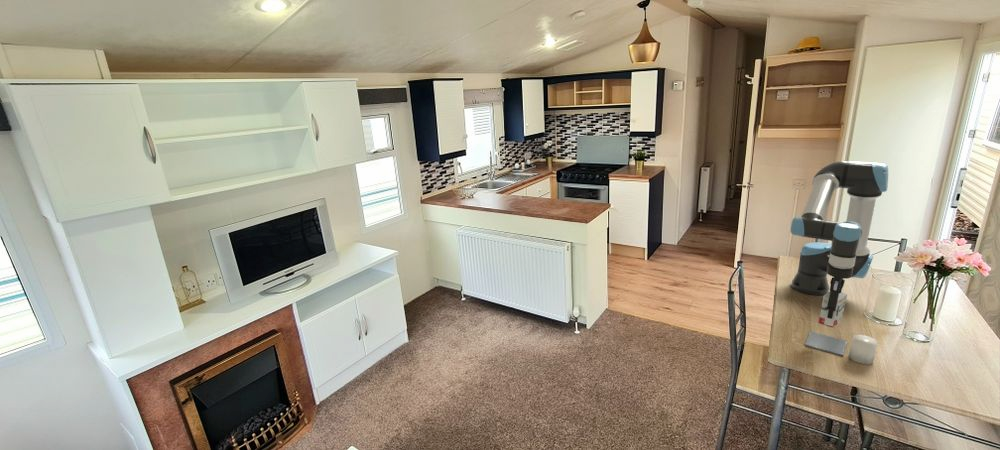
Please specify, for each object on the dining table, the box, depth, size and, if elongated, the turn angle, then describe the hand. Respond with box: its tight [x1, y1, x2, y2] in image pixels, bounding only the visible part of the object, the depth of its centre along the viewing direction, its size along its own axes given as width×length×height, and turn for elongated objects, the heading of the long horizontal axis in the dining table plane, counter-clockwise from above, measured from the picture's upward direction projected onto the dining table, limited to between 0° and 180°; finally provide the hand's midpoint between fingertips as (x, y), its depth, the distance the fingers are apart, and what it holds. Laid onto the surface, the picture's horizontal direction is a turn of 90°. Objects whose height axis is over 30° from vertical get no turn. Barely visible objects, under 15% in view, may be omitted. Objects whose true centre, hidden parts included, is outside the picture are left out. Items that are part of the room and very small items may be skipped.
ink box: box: [818, 291, 848, 328], centre depth 167 cm, size 8×5×12 cm, turn 124°
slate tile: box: [804, 331, 848, 357], centre depth 171 cm, size 12×12×1 cm
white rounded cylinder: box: [848, 334, 879, 366], centre depth 160 cm, size 7×7×8 cm
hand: (830, 319), depth 168 cm, fingers closed on ink box, 9 cm apart
